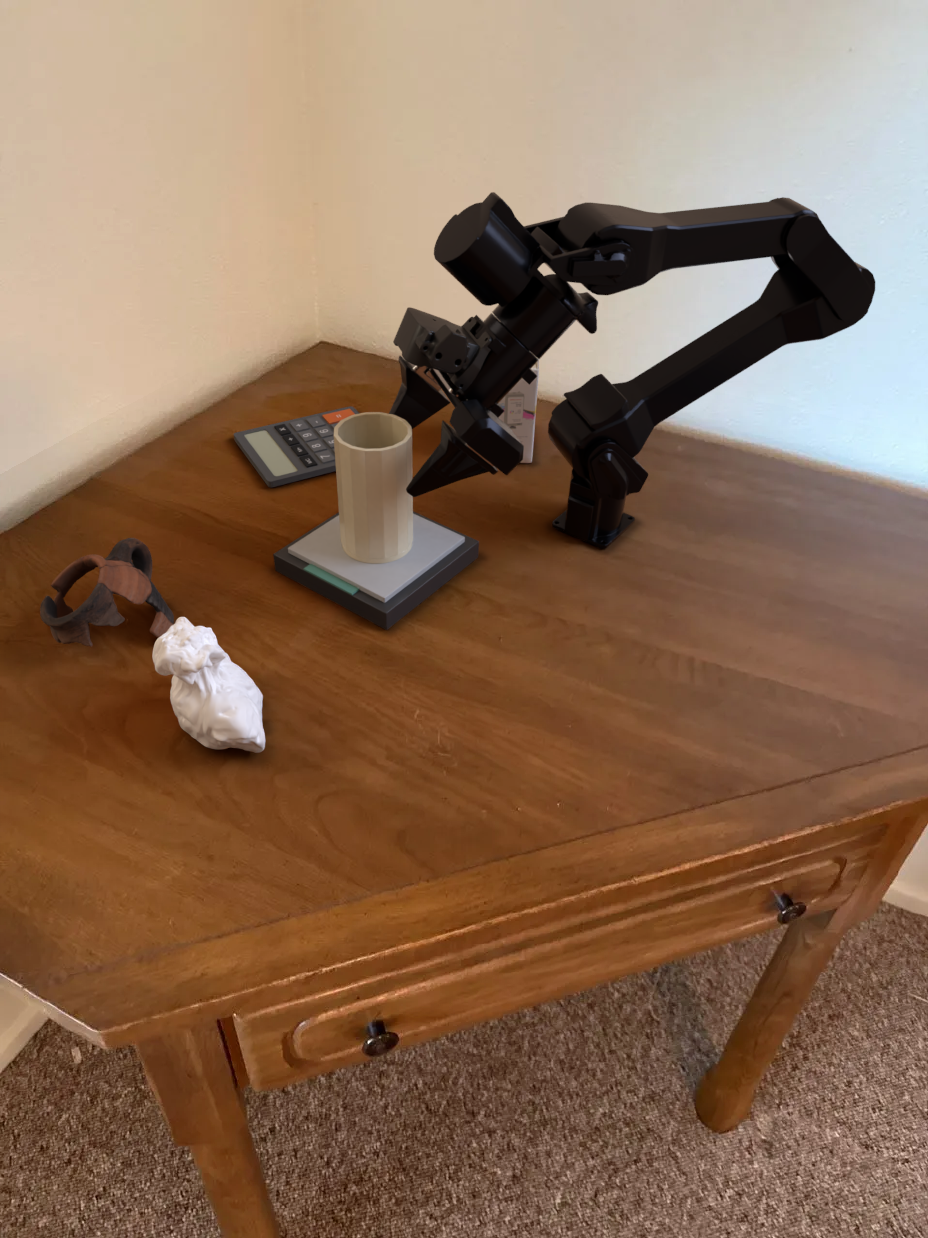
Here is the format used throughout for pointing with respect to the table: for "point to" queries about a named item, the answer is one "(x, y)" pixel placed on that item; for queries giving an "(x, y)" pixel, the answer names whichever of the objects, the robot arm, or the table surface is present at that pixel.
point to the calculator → (293, 447)
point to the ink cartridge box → (522, 412)
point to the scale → (377, 569)
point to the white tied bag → (209, 689)
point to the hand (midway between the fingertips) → (394, 467)
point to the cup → (374, 486)
